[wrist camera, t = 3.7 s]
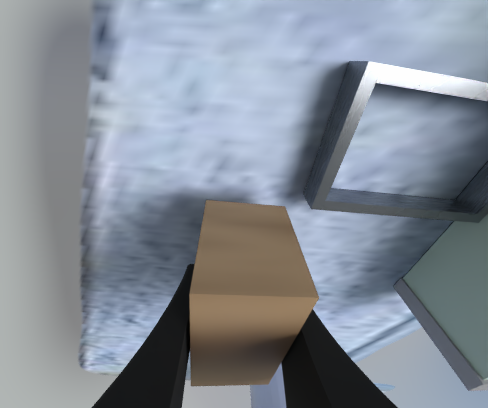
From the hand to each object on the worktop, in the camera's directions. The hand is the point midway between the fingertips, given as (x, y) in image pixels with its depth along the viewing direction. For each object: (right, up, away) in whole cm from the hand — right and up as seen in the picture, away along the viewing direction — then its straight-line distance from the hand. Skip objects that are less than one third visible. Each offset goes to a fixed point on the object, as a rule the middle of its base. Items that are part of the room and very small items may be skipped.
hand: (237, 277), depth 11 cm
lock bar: (0, +1, +1) cm, 1 cm away
